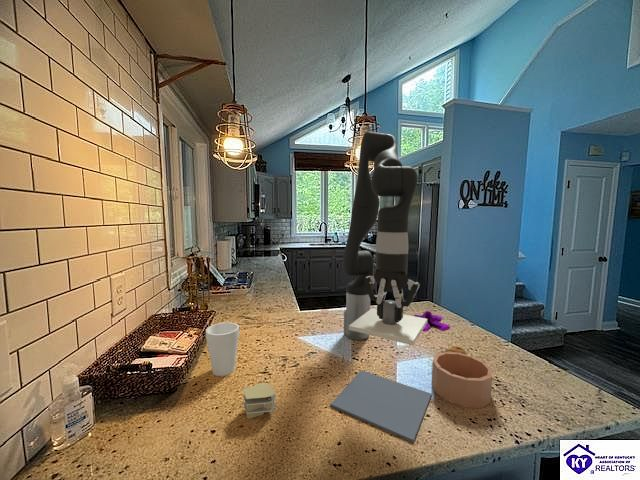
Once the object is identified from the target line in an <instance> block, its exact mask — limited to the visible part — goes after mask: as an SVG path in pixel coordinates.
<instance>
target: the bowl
mask: <svg viewBox="0 0 640 480" xmlns="http://www.w3.org/2000/svg"><path fill="white" fill-rule="evenodd" d="M466 354H467V353H466ZM466 354H462V353H457V352H445V351H443V352H441V353H437V354H434V357H433V359H432V363H431V364H432V368H431V369H432V370H431V386H432V388H433V390H434V391H435V393H436V394H437V395H438V396H440V397H442V398H443V399H444V400H445V401H446V402H449V403H452V404H454V405H458V406H460V407H464V408H473V409H474V408H475V409H477V408H479V409H482V408H483V407H486V406H487V405H490V404H491V402H492V401H491V399H492V386H493V385H492V384H493V369H492V367H490V366H489V364H488V363H486V362H485V361H483V360H481V359H479V358H477V357H475V356H473V355H469V354H467V355H466Z"/></svg>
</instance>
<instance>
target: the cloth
mask: <svg viewBox="0 0 640 480" xmlns="http://www.w3.org/2000/svg"><path fill="white" fill-rule="evenodd" d="M412 316H415V317H420V318H426V319H427V324H426V326H425V327H424V329H423V330H422V332H428V331H429V330H430V329H431V326H432V327H435V328H437V329H438V330H439V331H441V332H443V331H446V330H448V329H450V328H451V326H450V325H448V324H446V323H443V322H441V321H442V320H443V319H444V318H443V317H442V316H440V315H437V314H436V315H435V314H432V312H431V311H429V310H425V312H423V314H421V315H419V314H414V315H412Z"/></svg>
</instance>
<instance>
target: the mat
mask: <svg viewBox="0 0 640 480" xmlns="http://www.w3.org/2000/svg"><path fill="white" fill-rule="evenodd" d="M431 398H432V393H431V392H428V391H425V390H422V389H420V388H417V387H412V386H411V385H408V384H404V383H401V382H397V381H395V380H392V379H388V378H387V377H382V376H379V375H377V374H374V373H372V372H368V371H365V370H363V369H362V370H360V371H359V372H358V373H357V374H356V375H355V376H354V378H352V379H351V381H350V382H349V383H348V384H347V385H346V386H345V387H344V388H343V389H342V391H341V392H340V393H339V394H338V395H337V396H336V397H335V398H334V399H333V401H331V403H330V405H329V406H330V407H331V408H334V409H336V410H338V411H340V412H343V413H345V414H347V415H349V416H352V417H353V418H357V419H359V420H361V421H363V422H366V423H368V424H370V425H372V426H375V427H377V428H379V429H382V430H384V431H386V432H388V433H390V434H393V435H395V436H397V437H399V438H402V439H404V440H407V441H409V442H412V443H414V442H415V440H416V437H417V435H418V432H419V429H420V427H421V424H422V422H423V419H424V417H425V413H426V410H427V409H428V405H429V403H430V401H431Z"/></svg>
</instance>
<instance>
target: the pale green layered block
mask: <svg viewBox="0 0 640 480" xmlns="http://www.w3.org/2000/svg"><path fill="white" fill-rule="evenodd" d="M242 390H243V394H242V396H243V400H244V402H243V403H242V404H243V406H244V407H243V408H244V410H245V413H246V418H247V420H249V419H252V418H256V417H259V416H262V415H264V413H269V412H271V411H273V410H274V409H275V407H276V406H277V404H276V402H275V399H276V398H277V396H276V394H275V393H276V391H277V390H276V389H275V388H274V387H273V386H272V385H270V384H269V383H268V382H260V383H257V384H254V385H251V386H248V387H245V388H243V389H242Z"/></svg>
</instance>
